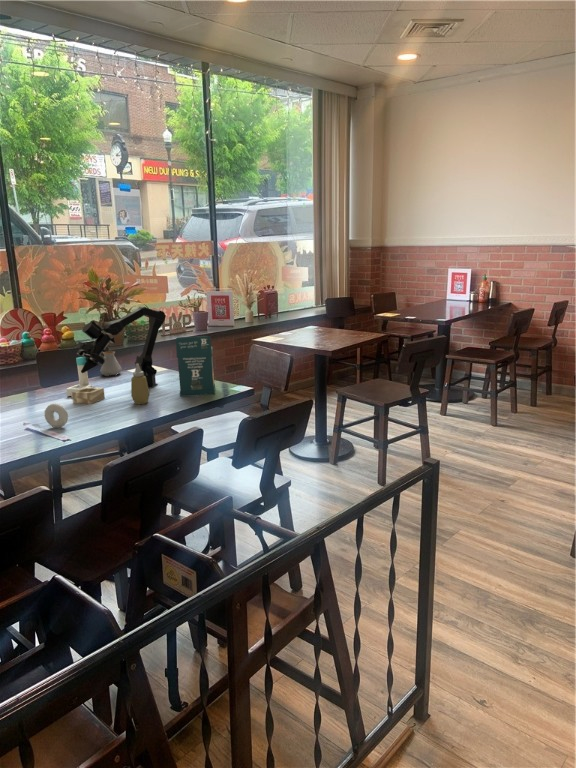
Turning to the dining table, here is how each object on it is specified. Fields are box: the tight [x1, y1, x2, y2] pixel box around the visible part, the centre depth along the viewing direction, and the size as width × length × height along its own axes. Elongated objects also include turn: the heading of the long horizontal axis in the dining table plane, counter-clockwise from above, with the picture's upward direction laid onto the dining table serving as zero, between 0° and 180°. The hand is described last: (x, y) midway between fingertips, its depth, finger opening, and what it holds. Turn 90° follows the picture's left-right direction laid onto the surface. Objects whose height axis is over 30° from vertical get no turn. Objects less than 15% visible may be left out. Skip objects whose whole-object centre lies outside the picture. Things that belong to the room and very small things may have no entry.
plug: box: [75, 356, 90, 386], centre depth 261 cm, size 4×4×13 cm
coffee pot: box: [99, 350, 122, 377], centre depth 308 cm, size 21×12×15 cm, turn 170°
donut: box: [44, 402, 69, 429], centre depth 222 cm, size 10×4×10 cm, turn 74°
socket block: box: [72, 386, 106, 405], centre depth 261 cm, size 10×10×5 cm
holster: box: [65, 384, 93, 398], centre depth 272 cm, size 8×8×4 cm
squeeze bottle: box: [130, 364, 150, 405], centre depth 253 cm, size 8×8×18 cm
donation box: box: [175, 335, 216, 397], centre depth 269 cm, size 16×16×28 cm
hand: (79, 371), depth 260 cm, fingers closed on plug, 4 cm apart
